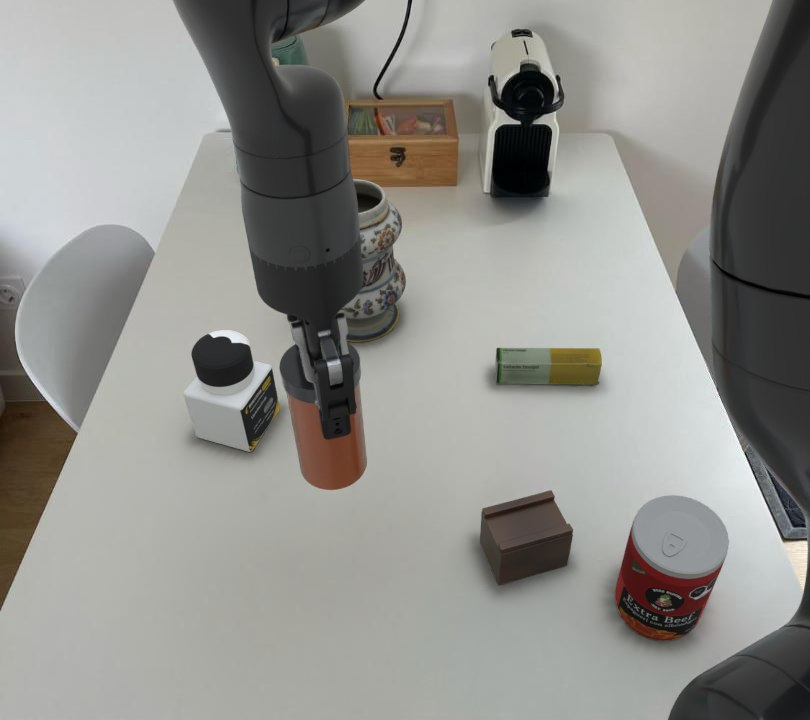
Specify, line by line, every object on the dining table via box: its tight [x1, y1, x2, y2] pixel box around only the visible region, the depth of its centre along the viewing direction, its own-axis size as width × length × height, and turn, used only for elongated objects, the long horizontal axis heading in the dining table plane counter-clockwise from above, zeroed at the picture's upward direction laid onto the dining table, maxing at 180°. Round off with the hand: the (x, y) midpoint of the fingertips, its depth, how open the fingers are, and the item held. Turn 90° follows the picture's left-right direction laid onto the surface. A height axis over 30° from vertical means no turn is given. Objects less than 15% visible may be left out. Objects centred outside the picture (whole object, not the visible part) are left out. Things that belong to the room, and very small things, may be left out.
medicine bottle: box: [182, 329, 281, 453], centre depth 88 cm, size 7×7×12 cm
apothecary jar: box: [339, 178, 407, 343], centre depth 99 cm, size 12×12×18 cm
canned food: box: [614, 494, 730, 642], centre depth 70 cm, size 8×8×11 cm
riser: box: [479, 489, 574, 586], centre depth 76 cm, size 7×5×6 cm
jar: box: [278, 341, 368, 491], centre depth 66 cm, size 12×6×6 cm
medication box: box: [494, 347, 603, 386], centre depth 94 cm, size 12×3×4 cm, turn 87°
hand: (327, 404), depth 66 cm, fingers closed on jar, 6 cm apart
